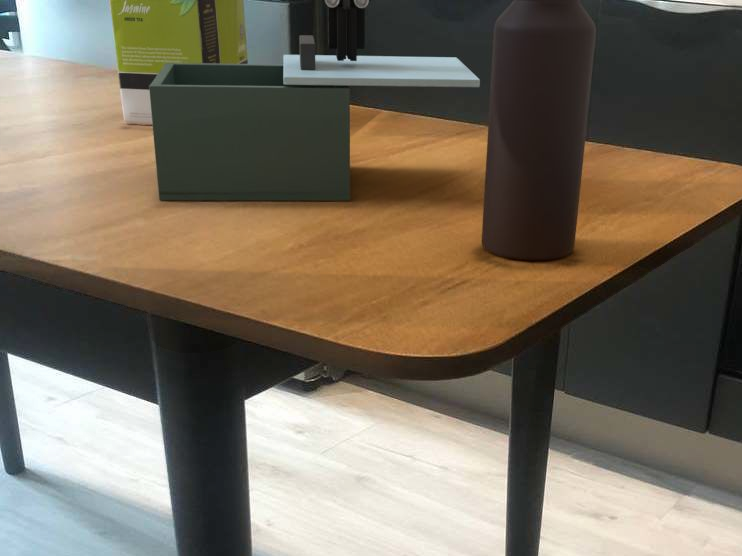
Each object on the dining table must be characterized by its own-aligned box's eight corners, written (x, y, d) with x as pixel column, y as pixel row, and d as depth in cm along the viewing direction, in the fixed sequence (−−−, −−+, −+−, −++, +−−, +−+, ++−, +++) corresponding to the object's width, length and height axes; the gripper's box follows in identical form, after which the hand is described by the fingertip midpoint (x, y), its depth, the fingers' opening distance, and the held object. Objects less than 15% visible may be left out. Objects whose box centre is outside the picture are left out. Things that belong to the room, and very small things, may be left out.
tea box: (171, 102, 130) (160, -37, 122) (252, 107, 128) (246, -33, 121) (120, 124, 117) (104, -30, 109) (209, 129, 115) (199, -26, 108)
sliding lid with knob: (283, 84, 85) (282, 49, 84) (283, 61, 97) (282, 30, 96) (479, 87, 87) (481, 52, 85) (456, 64, 98) (457, 33, 97)
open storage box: (159, 200, 89) (148, 85, 84) (173, 164, 100) (165, 62, 96) (350, 201, 90) (349, 88, 86) (342, 165, 102) (341, 65, 97)
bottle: (582, 263, 76) (616, -59, 66) (486, 262, 76) (506, -62, 66) (565, 237, 82) (594, -62, 72) (476, 235, 82) (493, -65, 72)
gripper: (243, -212, 78) (255, 63, 87) (449, -204, 79) (440, 66, 88) (246, -204, 84) (257, 52, 93) (437, -196, 86) (429, 54, 95)
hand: (346, 58), depth 91 cm, fingers closed
